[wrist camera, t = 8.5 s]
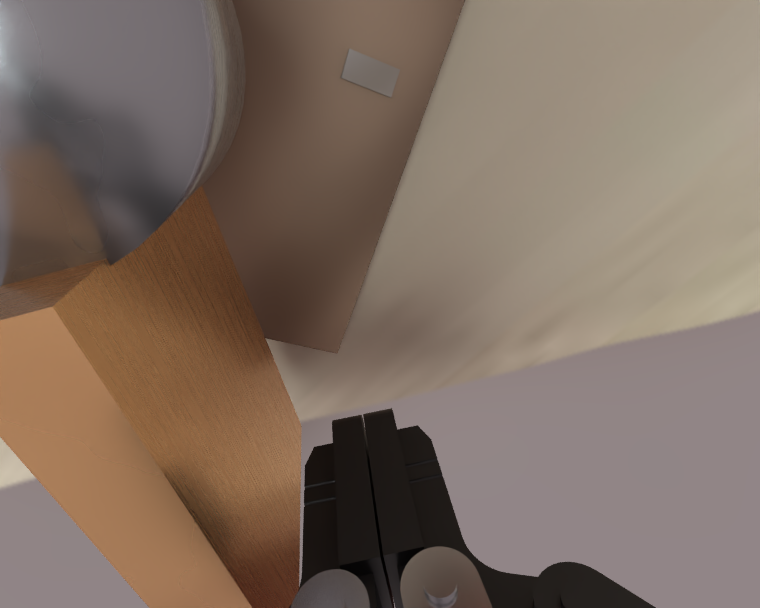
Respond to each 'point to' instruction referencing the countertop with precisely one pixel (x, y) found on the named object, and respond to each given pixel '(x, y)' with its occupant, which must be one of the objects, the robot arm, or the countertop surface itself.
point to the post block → (322, 150)
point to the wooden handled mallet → (139, 301)
